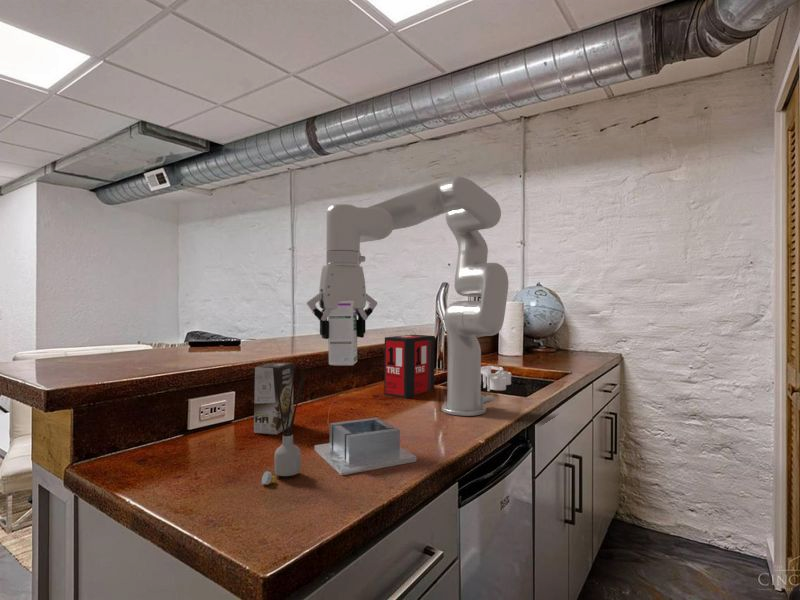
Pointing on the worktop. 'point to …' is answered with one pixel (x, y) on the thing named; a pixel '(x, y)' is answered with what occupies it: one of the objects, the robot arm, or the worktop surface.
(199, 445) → the worktop surface
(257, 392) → the coffee box
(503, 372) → the skeletal toy car
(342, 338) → the syrup box
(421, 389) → the cleaning product box
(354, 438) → the square socket
